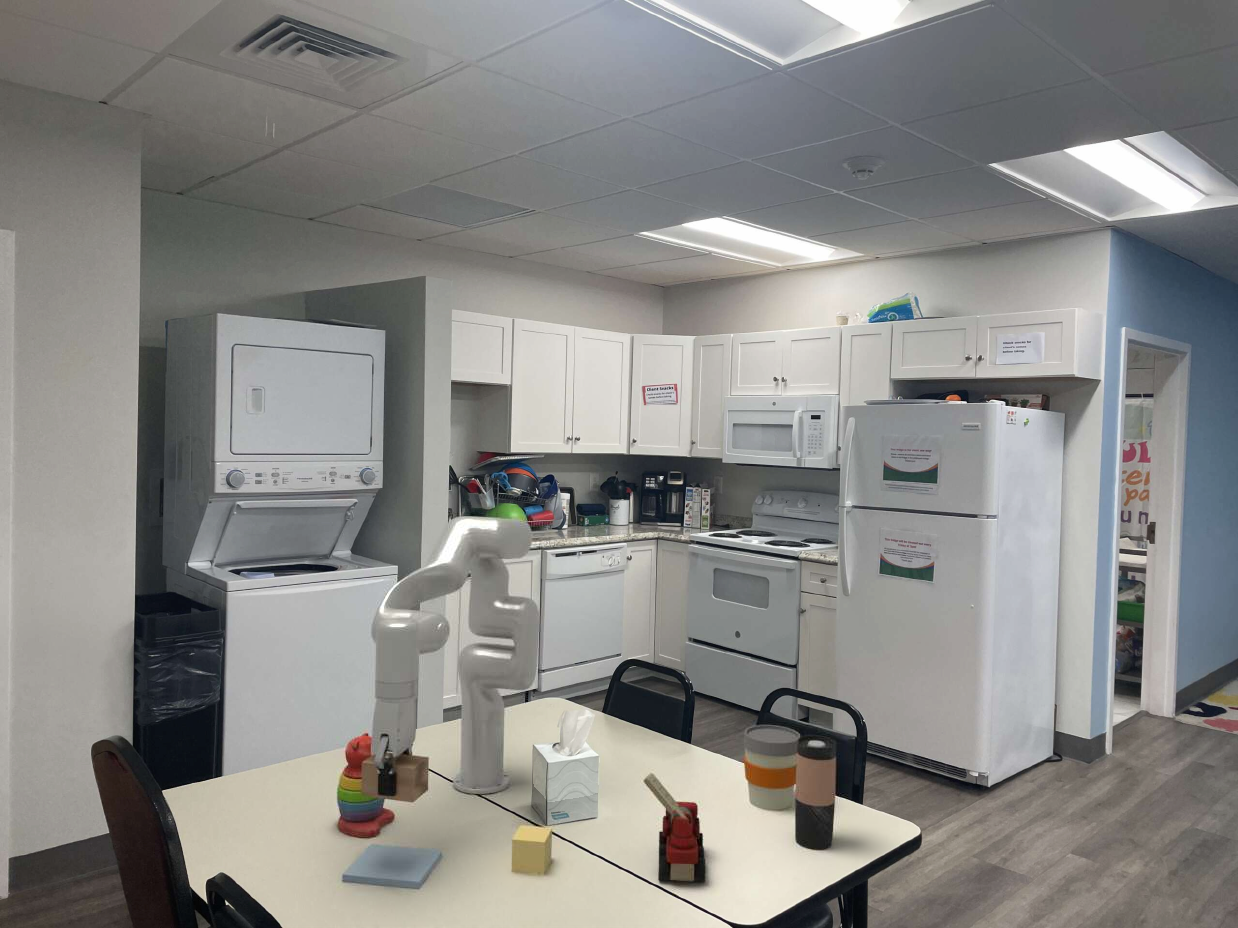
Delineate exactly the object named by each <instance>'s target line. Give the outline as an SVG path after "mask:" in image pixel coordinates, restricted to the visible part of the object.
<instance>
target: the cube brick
mask: <svg viewBox="0 0 1238 928" xmlns="http://www.w3.org/2000/svg"><path fill="white" fill-rule="evenodd" d="M552 837H553V827H545V826H534V825H524V824H521V825H520V826H518V828H517V830H516V831H515V834H514V835H513V837H512V839H511V872H513V873H520V872H522V873H521V874H530V873H532V874H531V875H534V874H533V873H537V874H536V875H540V874H544V873H545V874H546V872H545V871H547V870H548V868H547V867H549V866H550V863H551V861H552V855H553V854H552V850H553V848H552V846H553V845H552V842H553V838H552ZM546 869H547V870H546ZM545 874H544V875H545Z"/></svg>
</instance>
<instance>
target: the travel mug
mask: <svg viewBox="0 0 1238 928" xmlns="http://www.w3.org/2000/svg"><path fill="white" fill-rule="evenodd" d="M836 775H837V742H836V741H835V739H833V738H830V737H827V736H824V735H823V736H822V735H818V734H817V735H815V734H807V735H802V736H800V737H799V738H798V742H797V766H796V784H795V792H794V793H795V794H794V797H795V798H794V800H795V802H794V809H795V811H794V814H795V815H794V816H795V817H794V819H795V821H794V828H795V829H794V832H795V833H794V835H795V842H796V844H798V845H799V846H800V847H803V848H806V849H809V850H813V851H817V850H818V851H819V850H821V851H823V850H827V849H829V848H831V847H832V845H833V840H834V839H833V837H834V821H835V808H836V807H835V806H836V781H837V780H836V778H837V776H836Z"/></svg>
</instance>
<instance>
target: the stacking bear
mask: <svg viewBox="0 0 1238 928" xmlns="http://www.w3.org/2000/svg"><path fill="white" fill-rule="evenodd" d="M371 742H372V736H369V732H365V733H363V734H362V735H360V736H357V737H355V738H352V739H351V740H350V741H349V742H348V743H347V745H346V747H345V750H344V753H345V754H344V755H345V759H346V760H345V761H346V763H347V765H346V766H345V767H344V769H343V771H341V773H340V776H339V780H338V786H337V791H336V803H337V807H338V811H339V815H340V816H339V818H338V821H337V828H338V829H339V830H340V832H342V833H343V834H347V835H349V836H352V837H358V838H362V839H363V838H364V839H365V838H366V839H367V838H373V837H374V838H375V837H376V836H378V835H379V834H380V833H381V830H380V829H381V827H383V826H385V825H387V824H389V823H392V822H393V821H394V820H395V818H396V816H395V812H393V810H391V809H388V808H386V807H385V808H384V804H385V802H386V801H385V800H386V799H381V798H374V797H366V796H361V781H362V762H363V761H365V760H366V759H368V758H369V757H371V756H372V754H371Z"/></svg>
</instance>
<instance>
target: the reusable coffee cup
mask: <svg viewBox="0 0 1238 928" xmlns="http://www.w3.org/2000/svg"><path fill="white" fill-rule="evenodd" d="M799 737H801V734H800V733H799V732H798V731H796V730H795V729H792V728H790V727H786V726H780V725H774V724H773V725H772V724H758V725H752V726H749V727H747V728H745V730H744V734H743V739H742V740H743V741H742V742H743V743H742V746H743V748H744V753H745V754H744V756H743V764H744V766H743V767H744V774H745V775H744V776H745V777H744V778H745V779H746V781H747V787H748V797H749V803H750V804H751V805H752V806H753V807H756V808H759V809H761V810H767V811H783V810H786V809H789V808H790V807H791V806H792V803H793V802H792V801H793V793H794V788H795V786H796V766H797V742H798V738H799Z"/></svg>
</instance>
